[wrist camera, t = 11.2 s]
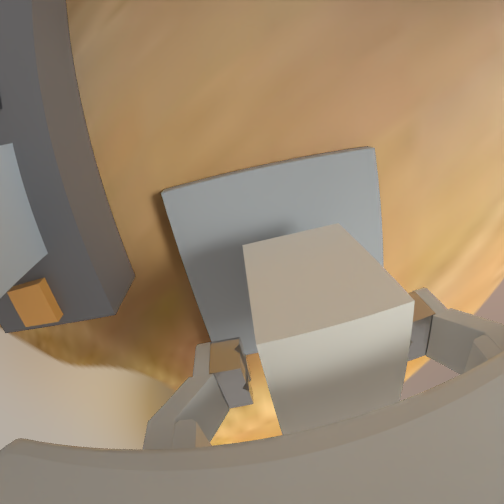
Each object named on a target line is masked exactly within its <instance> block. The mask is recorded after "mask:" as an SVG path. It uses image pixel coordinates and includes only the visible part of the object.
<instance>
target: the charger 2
mask: <svg viewBox="0 0 504 504" xmlns="http://www.w3.org/2000/svg"><path fill="white" fill-rule="evenodd" d="M242 247H243V254H244V261H245V269H246V276H247V283H248V291H249V298H250V305H251V312H252V319H253V326H254V334H255V341H256V346H257V350H258V353H259V357H260V360H261V364H262V367H263V371H264V374H265V377H266V381H267V384H268V388H269V391H270V394H271V398H272V401H273V405H274V408H275V411H276V415H277V418H278V421H279V425H280V428H281V431H282V435H286V434H291V433H295V432H300V431H304V430H308V429H313V428H317V427H320V426H324V425H328V424H332V423H335V422H339V421H342V420H346V419H349V418H353V417H356V416H359V415H362V414H365V413H368V412H371V411H374V410H377V409H380V408H383V407H386V406H388V405H391V404H394V403H397V402H399V401H400V398H401V393H402V388H403V383H404V378H405V372H406V366H407V360H408V354H409V347H410V340H411V332H412V323H413V314H414V304H415V300H414V299H413V298H412V297H411V296H410V295H409V294H408V293H407V292H406V291H405V290H404V289H403V287H402V286H401V285H400V284H399V283H398V282H397V281H396V280H395V279H394V278H393V277H392V276H391V275H390V274H389V273H388V272H387V271H386V270H385V269H384V268H383V267H382V266H381V265H380V263H379V262H378V261H377V260H376V259H375V258H374V257H373V256H372V255H371V254H370V253H369V252H368V251H367V250H366V249H365V248H364V247H363V246H362V245H361V244H360V243H359V242H358V241H357V240H356V239H354V238H353V237H352V236H351V235H350V234H349V233H348V232H347V231H346V230H345V229H344V228H343V227H342V226H341V225H340V224H339V223H337V224H332V225H328V226H323V227H319V228H315V229H310V230H306V231H302V232H297V233H293V234H288V235H284V236H280V237H275V238H271V239H267V240H262V241H258V242H254V243H249V244H245V245H242Z"/></svg>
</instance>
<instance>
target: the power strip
mask: <svg viewBox="0 0 504 504" xmlns="http://www.w3.org/2000/svg"><path fill="white" fill-rule="evenodd" d="M10 143H13V147H14V152H15V156H16V160H17V164H18V167H19V171H20V175H21V178H22V181H23V185H24V188H25V191H26V195H27V198H28V201H29V204H30V207H31V210H32V213H33V216H34V218H35V221H36V224H37V227H38V229H39V232H40V234H41V237H42V240H43V242H44V245H45V247H46V250H47V252H48V254H47V255H45V256H44V257H43V258H42V259H41V260H40V261H39V262H38V263H37V264H35V265H34V266H33V267H32V268H31V269H30V270H29V271H28V272H27V273H26V274H25V275H24V276H23V277H22V278H21V279H19V280H18V281H17V282H16V283H15V284H14V285H13V286H12V287H11V288H10V289H9V290H8V291H7V292H6V293H5V294H4V295H3V296H2V297H1V298H0V325H1V326H2V328H3V330H4V331H5V333H9V332H16V331H22V330H29V329H35V328H42V327H48V326H54V325H60V324H66V323H72V322H78V321H84V320H89V319H95V318H101V317H106V316H112V315H116V313H117V311H118V309H119V307H120V305H121V303H122V301H123V299H124V297H125V295H126V293H127V291H128V290H129V288H130V286H131V284H132V282H133V280H134V278H135V274H134V272H133V269H132V267H131V264H130V262H129V259H128V256H127V254H126V251H125V249H124V246H123V243H122V241H121V238H120V235H119V232H118V230H117V227H116V224H115V221H114V218H113V215H112V212H111V209H110V206H109V203H108V200H107V197H106V194H105V191H104V188H103V184H102V181H101V178H100V174H99V171H98V168H97V164H96V161H95V157H94V153H93V150H92V146H91V142H90V138H89V134H88V130H87V126H86V122H85V118H84V113H83V109H82V104H81V100H80V95H79V90H78V85H77V80H76V74H75V69H74V63H73V57H72V50H71V43H70V36H69V27H68V18H67V8H66V0H0V146H1V145H5V144H10Z"/></svg>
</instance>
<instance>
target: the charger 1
mask: <svg viewBox="0 0 504 504" xmlns="http://www.w3.org/2000/svg"><path fill="white" fill-rule="evenodd" d="M47 254H48V252H47V250H46V247H45V245H44V242H43V240H42V237H41V234H40V232H39V229H38V227H37V224H36V221H35V218H34V216H33V213H32V210H31V207H30V204H29V201H28V198H27V195H26V191H25V188H24V185H23V181H22V178H21V175H20V171H19V167H18V164H17V160H16V156H15V152H14V147H13V143H10V144H5V145H1V146H0V298H1V297H2V296H3V295H4V294H5V293H6V292H7V291H8V290H9V289H10V288H11V287H12V286H13V285H14V284H15V283H16V282H17V281H18V280H19V279H21V278H22V277H23V276H24V275H25V274H26V273H27V272H28V271H29V270H30V269H31V268H32V267H33V266H34V265H35V264H37V263H38V262H39V261H40V260H41V259H42V258H43V257H44V256H45V255H47Z"/></svg>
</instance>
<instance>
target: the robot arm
mask: <svg viewBox="0 0 504 504" xmlns="http://www.w3.org/2000/svg"><path fill="white" fill-rule="evenodd" d="M408 294H409V295H410V296H411V297H412V298H413V299H414V300H415V304H414V314H413V323H412V332H411V340H410V347H409V354H408V360H407V361H410V360H413V359H416V358H419V357H421V356H424V355H426V356H427V357H429V358H431V359H433V360H435V361H436V362H439V363H440V364H442V365H444V366H446V367H448V368H449V369H451V370H453V371H455V372H457V373H459V374H461V375H459V376H457V377H455V378H453V379H450V380H448V381H446V382H444V383H442V384H440V385H438V386H435V387H433V388H431V389H429V390H426V391H424V392H422V393H419V394H417V395H414V396H412V397H409V398H407V399H404V400H402V401H399V402H397V403H394V404H391V405H388V406H386V407H383V408H380V409H377V410H374V411H371V412H368V413H365V414H362V415H359V416H356V417H353V418H349V419H346V420H342V421H339V422H335V423H332V424H328V425H324V426H320V427H317V428H313V429H308V430H304V431H300V432H295V433H291V434H286V435H281V436H276V437H271V438H265V439H259V440H253V441H247V442H240V443H232V444H224V445H216V446H212V445H211V444H210V441H211V440H212V438H213V436H214V435H215V433H216V431H217V430H218V428H219V427H220V425H221V423H222V422H223V420H224V418H225V416H226V415H227V413H228V411H229V408H234V407H240V406H245V405H250V404H253V393H252V387H251V384H250V381H251V374H250V368H249V364H248V360H247V357H246V355H245V354H244V351H243V344H242V341H241V338H240V337H236V338H230V339H225V340H219V341H213V342H207V343H201V344H197V346H196V350H195V359H194V368H193V377H189V378H188V379H187V380H186V381H185V382H184V383H183V384H182V385H181V386H180V387H179V389H178V390H177V391H176V392H175V393H174V394H173V395H172V396H171V398H169V399H168V401H167V402H166V403H165V404H164V405H163V406H162V407H161V408H160V409H159V410H158V411H157V412H156V414H155V415H154V416H153V417H152V418H151V419H150V420H149V421H148V424H147V429H146V434H145V440H144V445H143V450H133V449H129V450H128V449H103V448H89V447H77V446H68V445H59V444H52V443H45V442H39V441H34V440H29V439H22V438H20V439H16V440H14V441H13V442H11V443H10V444H8V445H6V446H5V447H4V448H3V449H1V450H0V504H504V325H503V324H501V323H498V322H494V321H491V320H488V319H485V318H481V317H478V316H475V315H472V314H468V313H465V312H462V311H458V310H455V309H452V308H450V309H447V308H446V307H445V306H444V305H443V304H442V303H441V302H440V301H439V300H438V299H437V298H436V297H435V296H434V295H433V294H432V293H431V292H430V291H429V290H428V289H427V288H425V287H423V288H420V289H417V290H415V291H412V292H410V293H408Z"/></svg>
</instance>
